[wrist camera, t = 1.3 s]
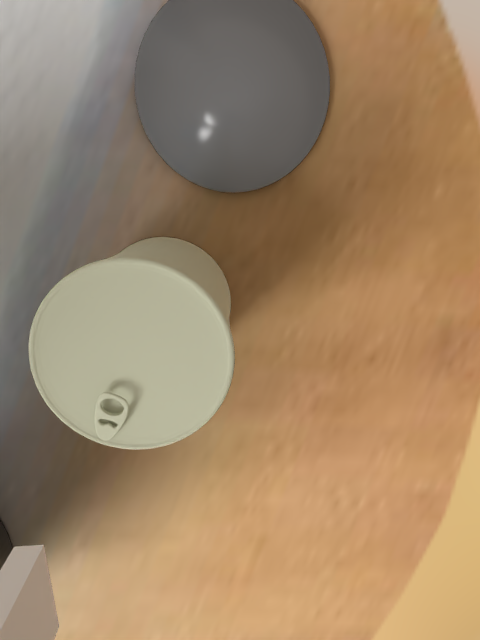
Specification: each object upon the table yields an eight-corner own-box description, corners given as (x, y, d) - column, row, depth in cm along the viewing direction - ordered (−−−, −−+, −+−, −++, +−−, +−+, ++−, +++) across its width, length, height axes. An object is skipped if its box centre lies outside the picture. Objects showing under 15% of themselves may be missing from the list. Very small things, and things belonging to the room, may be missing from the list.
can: (83, 338, 30) (-2, 420, 19) (122, 216, 28) (54, 222, 17) (203, 380, 32) (193, 482, 20) (250, 266, 29) (268, 304, 18)
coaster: (130, 179, 28) (128, 178, 27) (143, -36, 25) (141, -42, 24) (309, 204, 28) (311, 203, 28) (344, -1, 25) (347, -6, 25)
